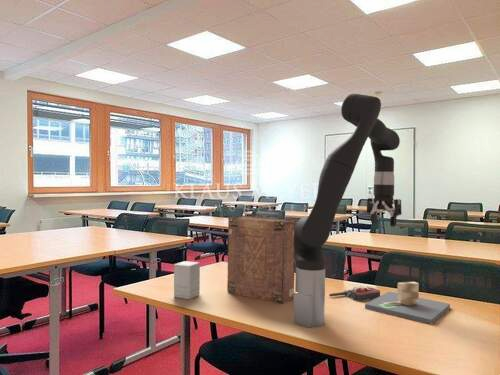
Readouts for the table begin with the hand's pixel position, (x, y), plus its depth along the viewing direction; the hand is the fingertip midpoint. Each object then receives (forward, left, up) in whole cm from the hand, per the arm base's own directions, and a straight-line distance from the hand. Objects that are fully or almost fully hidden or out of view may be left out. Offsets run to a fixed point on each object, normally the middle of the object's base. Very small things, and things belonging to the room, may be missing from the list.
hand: (383, 225), depth 145 cm
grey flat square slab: (-6, -12, -28) cm, 31 cm away
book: (-31, +36, -28) cm, 55 cm away
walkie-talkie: (-7, +7, -29) cm, 30 cm away
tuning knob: (-9, -10, -26) cm, 29 cm away
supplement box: (-52, +55, -28) cm, 81 cm away
